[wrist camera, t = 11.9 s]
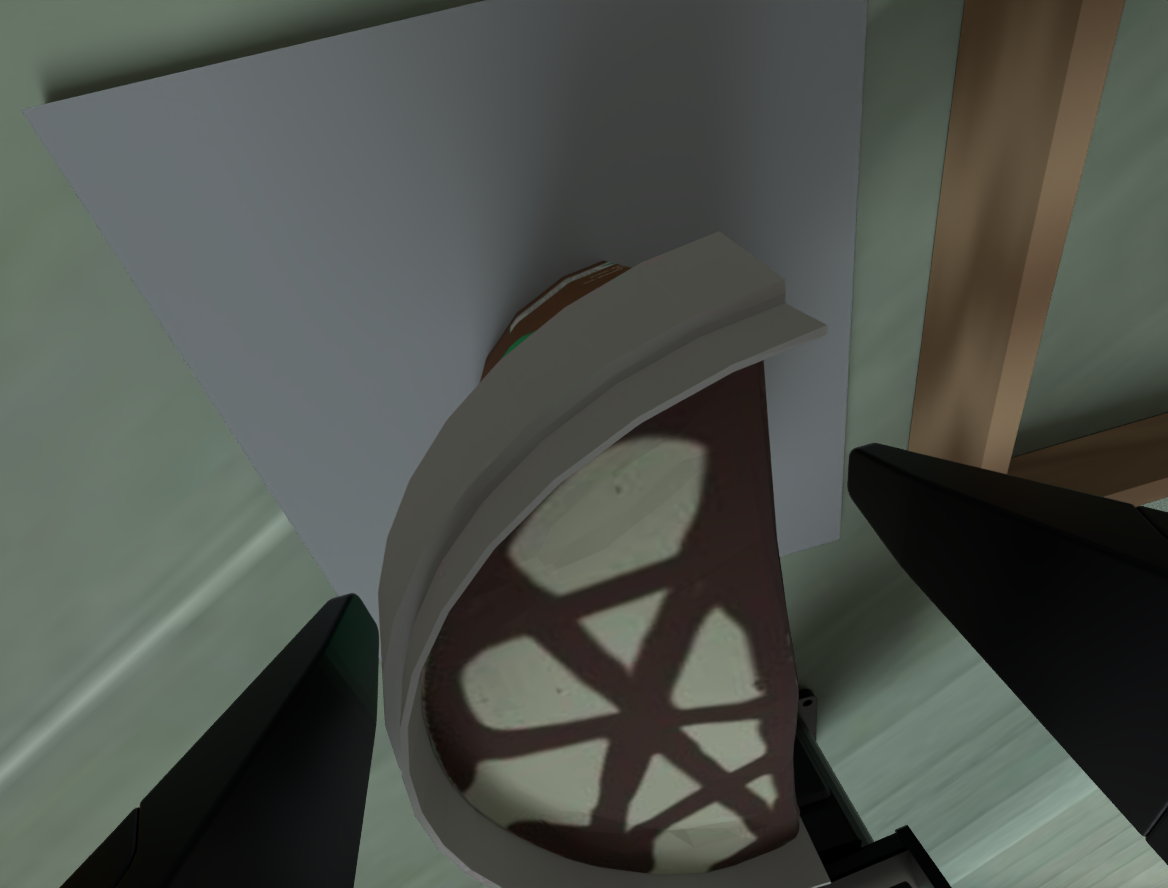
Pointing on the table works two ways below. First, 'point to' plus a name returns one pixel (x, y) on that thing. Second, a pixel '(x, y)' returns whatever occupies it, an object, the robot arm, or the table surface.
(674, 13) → the slate mat
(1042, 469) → the walnut frame
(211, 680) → the table surface
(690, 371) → the food container
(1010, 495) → the robot arm
